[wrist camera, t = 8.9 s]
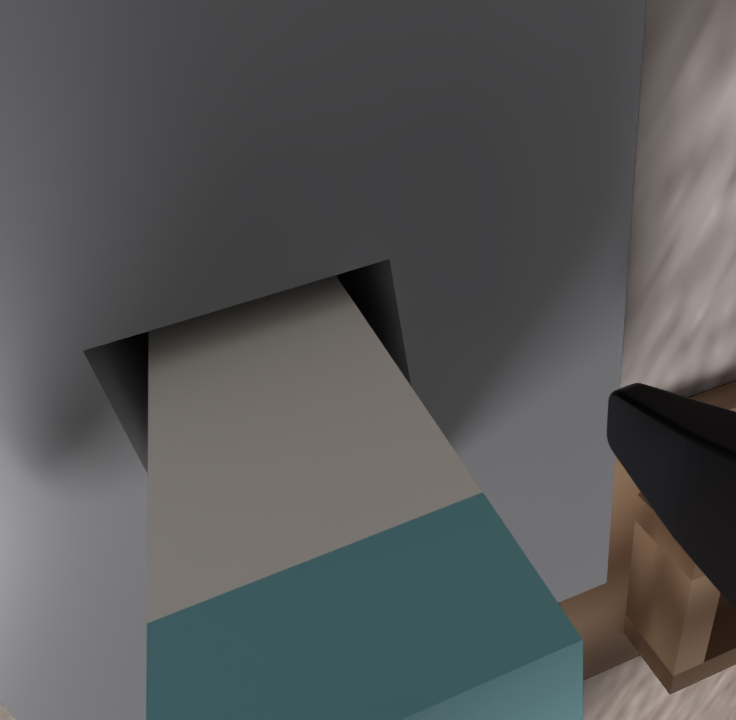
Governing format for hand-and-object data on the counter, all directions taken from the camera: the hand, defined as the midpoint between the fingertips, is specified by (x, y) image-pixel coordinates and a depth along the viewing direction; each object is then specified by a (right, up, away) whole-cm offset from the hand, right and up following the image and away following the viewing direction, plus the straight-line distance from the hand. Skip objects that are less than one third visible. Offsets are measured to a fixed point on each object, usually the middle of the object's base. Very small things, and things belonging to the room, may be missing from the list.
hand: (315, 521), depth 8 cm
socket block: (-2, +3, +5) cm, 6 cm away
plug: (-2, +3, +5) cm, 6 cm away
